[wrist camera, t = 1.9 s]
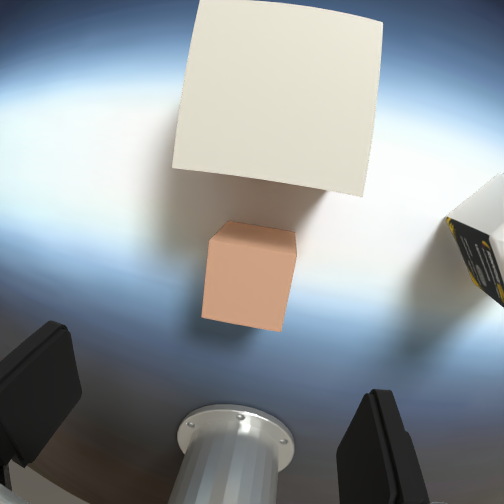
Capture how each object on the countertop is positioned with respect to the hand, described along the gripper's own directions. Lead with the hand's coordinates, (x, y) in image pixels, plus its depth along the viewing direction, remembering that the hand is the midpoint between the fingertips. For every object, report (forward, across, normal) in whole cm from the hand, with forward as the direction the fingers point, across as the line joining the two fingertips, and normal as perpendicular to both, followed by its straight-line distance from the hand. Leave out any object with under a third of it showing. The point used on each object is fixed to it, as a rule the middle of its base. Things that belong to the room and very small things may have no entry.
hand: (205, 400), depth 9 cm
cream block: (+12, 0, -10) cm, 16 cm away
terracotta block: (+16, 0, +1) cm, 16 cm away
